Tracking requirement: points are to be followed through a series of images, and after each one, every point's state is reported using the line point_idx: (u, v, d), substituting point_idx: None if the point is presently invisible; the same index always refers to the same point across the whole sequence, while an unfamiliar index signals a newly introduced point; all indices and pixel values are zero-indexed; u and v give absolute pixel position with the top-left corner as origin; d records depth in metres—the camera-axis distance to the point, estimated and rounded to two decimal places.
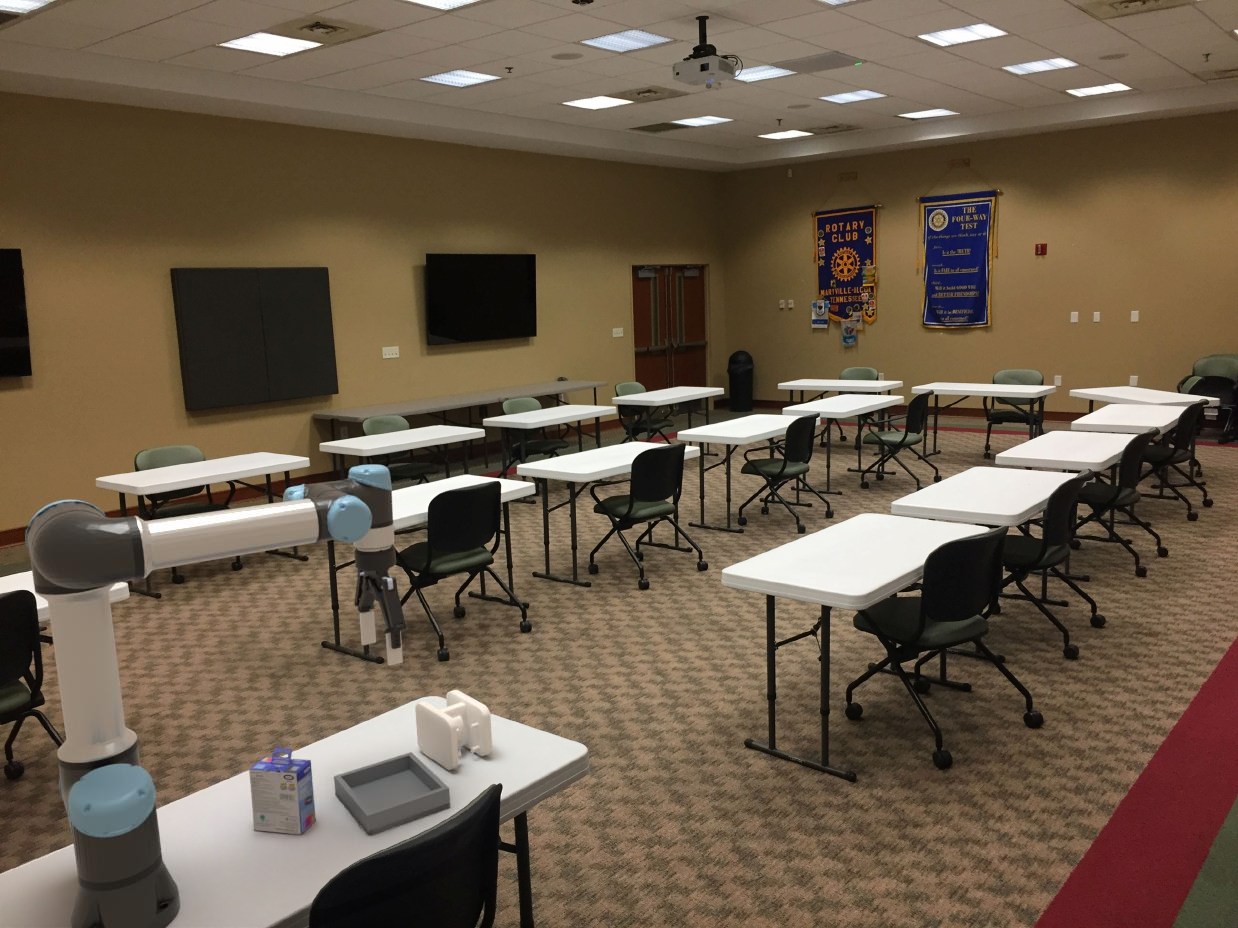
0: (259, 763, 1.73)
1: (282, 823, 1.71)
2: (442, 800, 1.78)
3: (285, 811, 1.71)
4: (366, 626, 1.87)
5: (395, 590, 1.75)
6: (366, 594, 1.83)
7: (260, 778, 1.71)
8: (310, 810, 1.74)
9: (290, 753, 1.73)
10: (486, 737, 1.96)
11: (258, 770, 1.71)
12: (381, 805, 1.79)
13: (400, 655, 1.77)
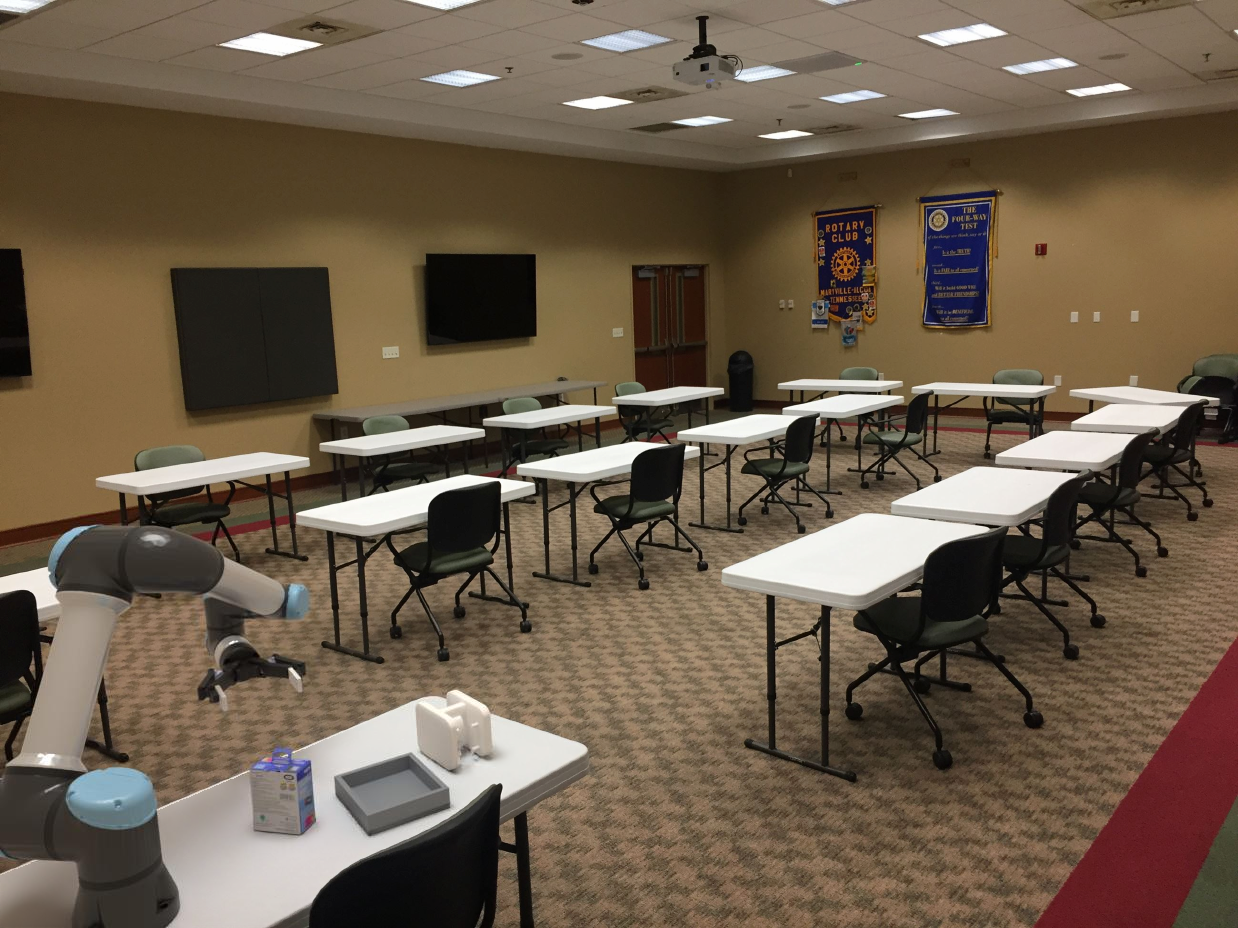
0: (259, 763, 1.73)
1: (282, 823, 1.71)
2: (442, 800, 1.78)
3: (285, 811, 1.71)
4: None
5: None
6: (229, 675, 1.85)
7: (260, 778, 1.71)
8: (310, 810, 1.74)
9: (290, 753, 1.73)
10: (487, 737, 1.96)
11: (258, 770, 1.71)
12: (381, 805, 1.79)
13: None
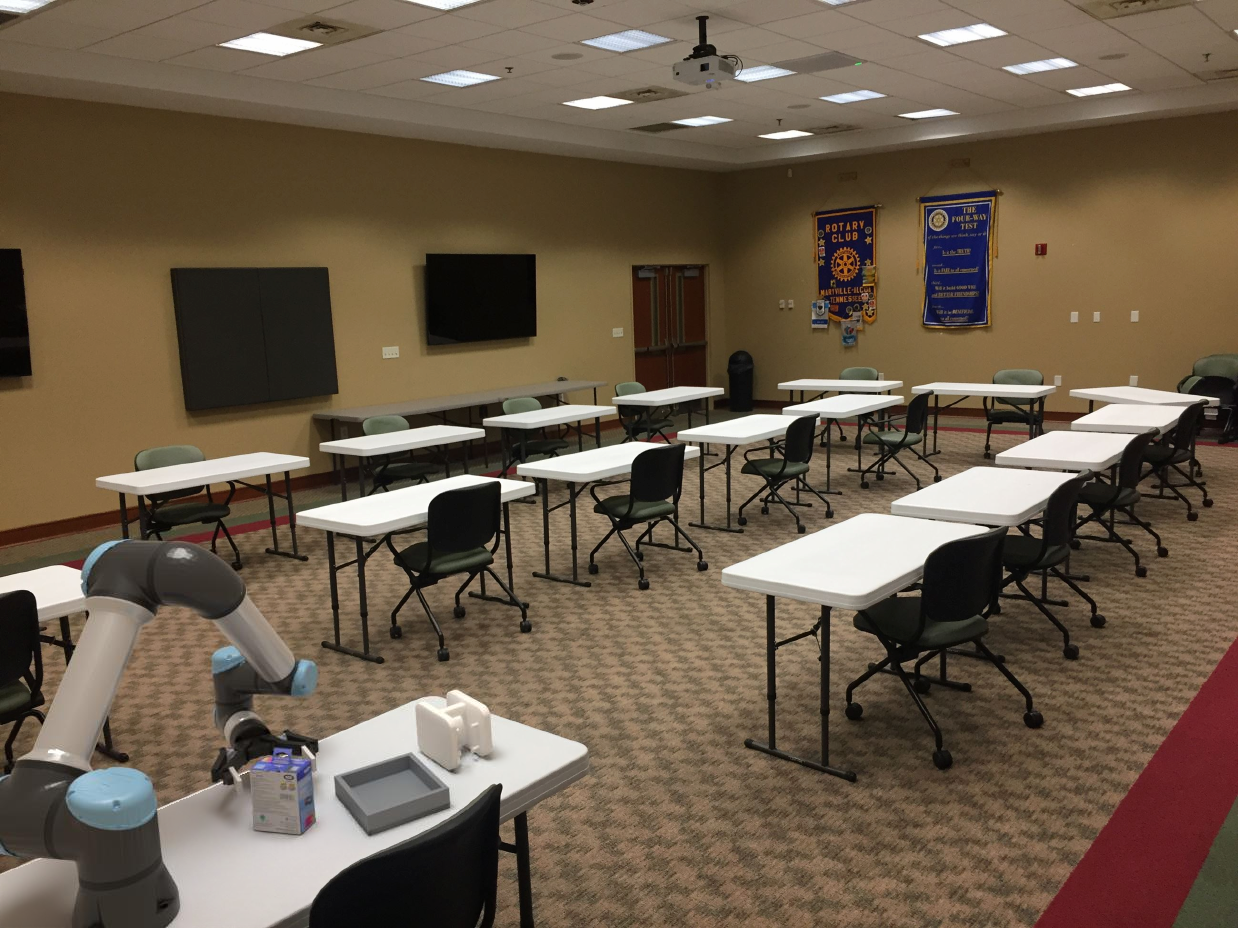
0: (259, 763, 1.73)
1: (282, 823, 1.71)
2: (442, 800, 1.78)
3: (285, 811, 1.71)
4: None
5: None
6: (242, 754, 1.84)
7: (260, 778, 1.71)
8: (310, 810, 1.74)
9: (290, 753, 1.73)
10: (486, 737, 1.96)
11: (258, 770, 1.71)
12: (381, 805, 1.79)
13: None
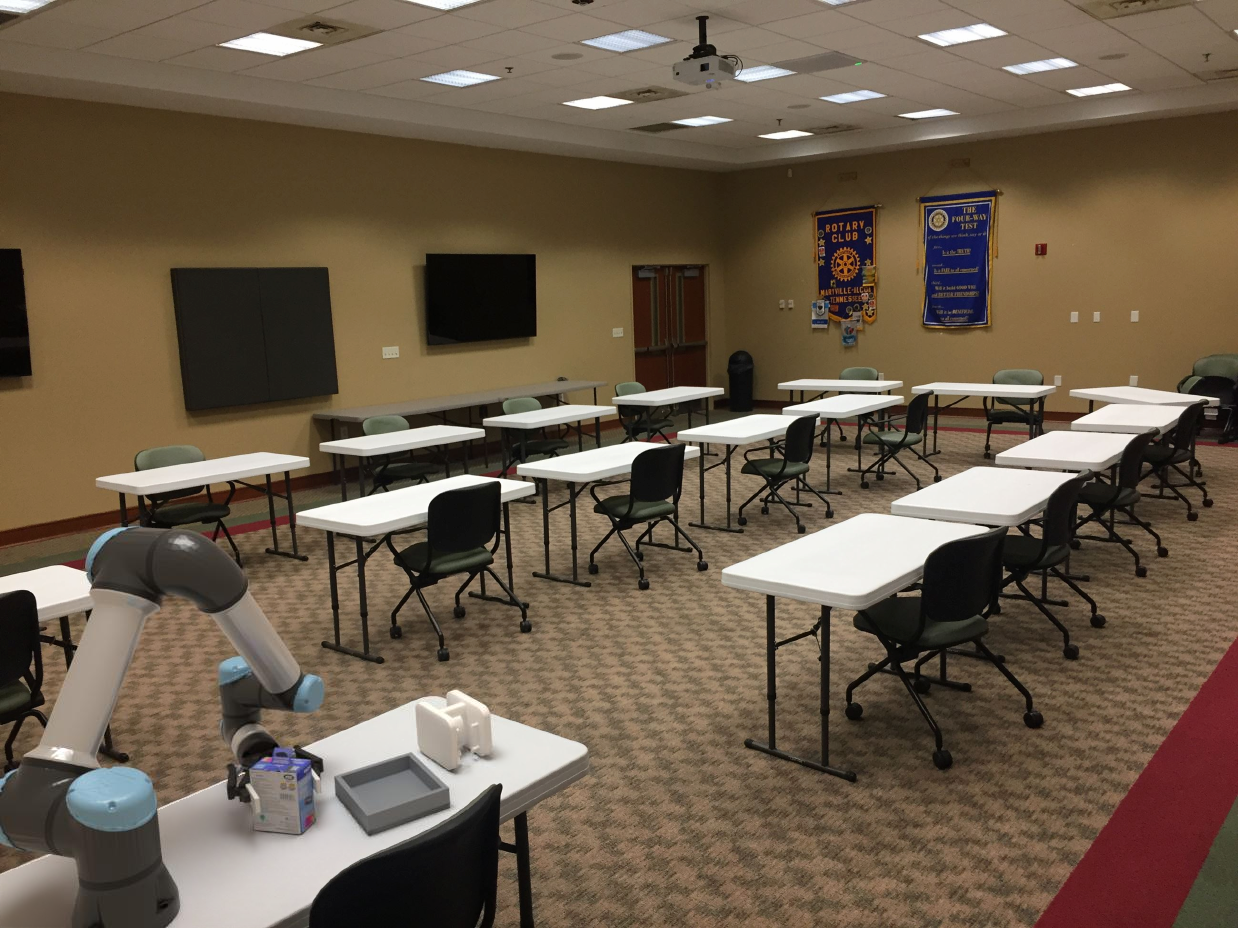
0: (259, 763, 1.73)
1: (282, 823, 1.71)
2: (442, 800, 1.78)
3: (285, 811, 1.71)
4: None
5: None
6: None
7: (260, 778, 1.71)
8: (310, 810, 1.74)
9: (290, 753, 1.73)
10: (486, 737, 1.96)
11: (258, 770, 1.71)
12: (381, 805, 1.79)
13: None
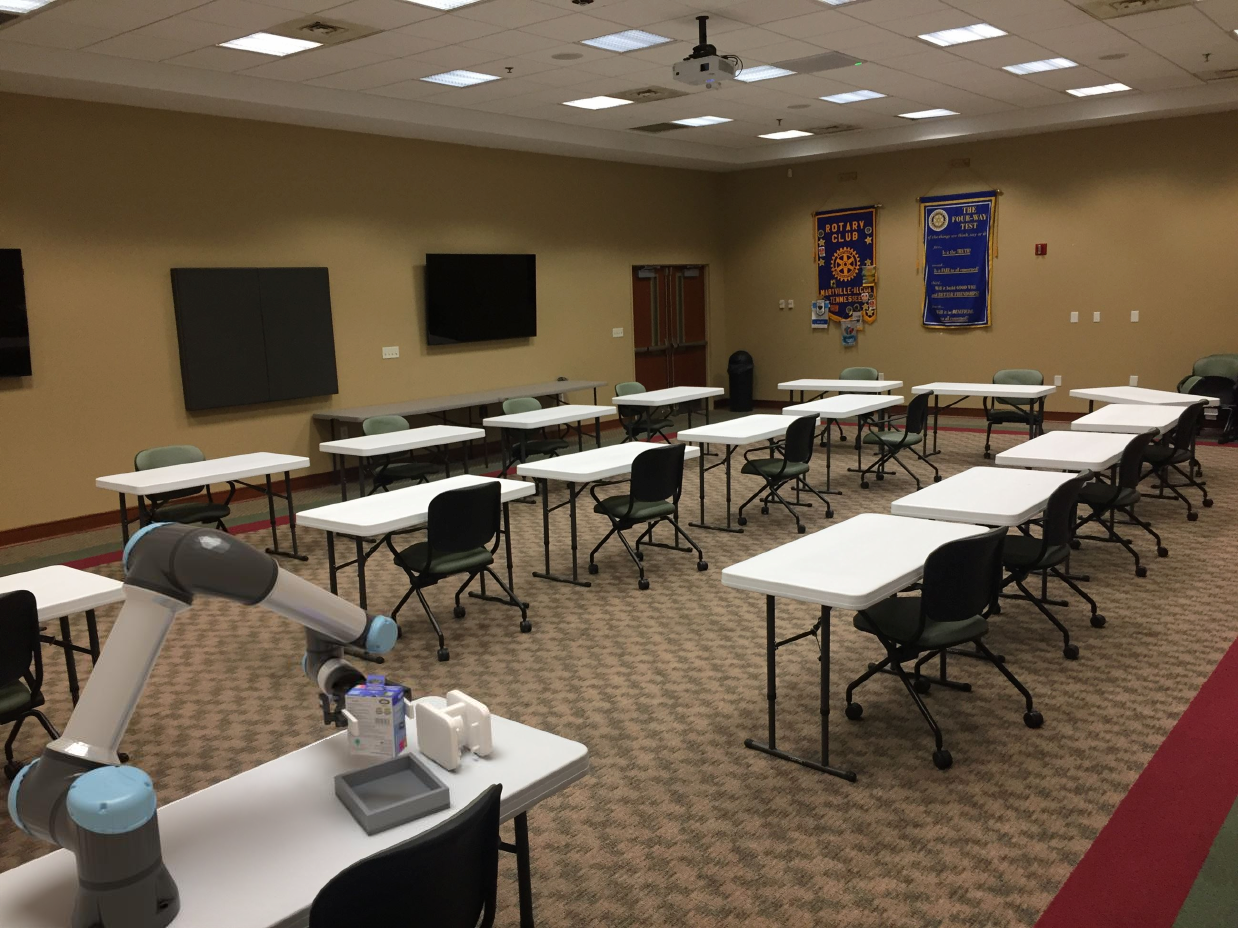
0: (353, 690, 1.78)
1: (377, 747, 1.77)
2: (442, 800, 1.78)
3: (380, 735, 1.77)
4: None
5: None
6: None
7: (355, 704, 1.76)
8: (403, 735, 1.79)
9: (383, 680, 1.78)
10: (486, 737, 1.96)
11: (354, 695, 1.76)
12: (381, 805, 1.79)
13: None
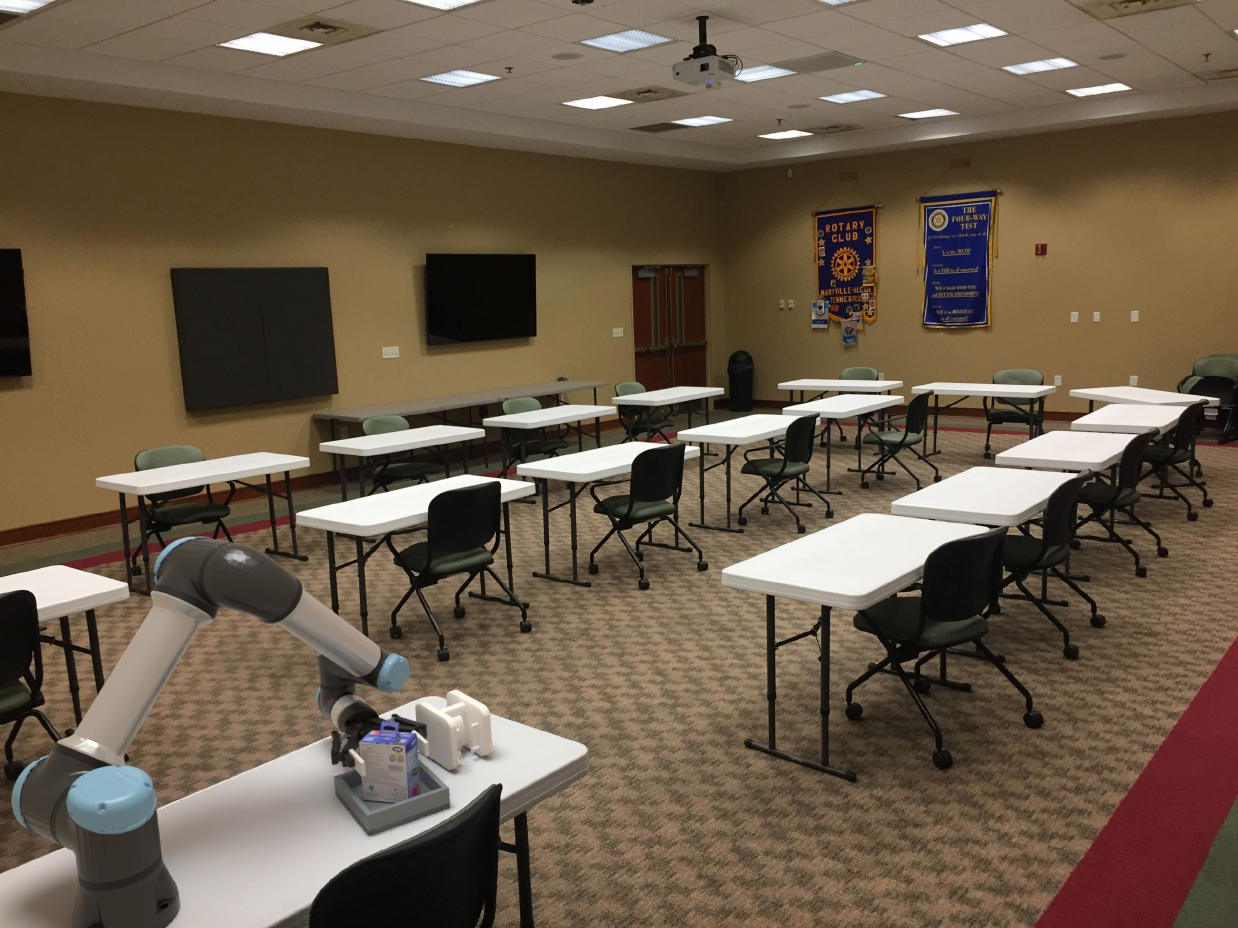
0: (367, 736, 1.80)
1: (391, 793, 1.79)
2: (442, 800, 1.78)
3: (393, 782, 1.78)
4: None
5: None
6: (356, 737, 1.84)
7: (369, 750, 1.78)
8: (416, 781, 1.81)
9: (397, 726, 1.80)
10: (486, 737, 1.96)
11: (368, 742, 1.78)
12: (381, 805, 1.79)
13: None
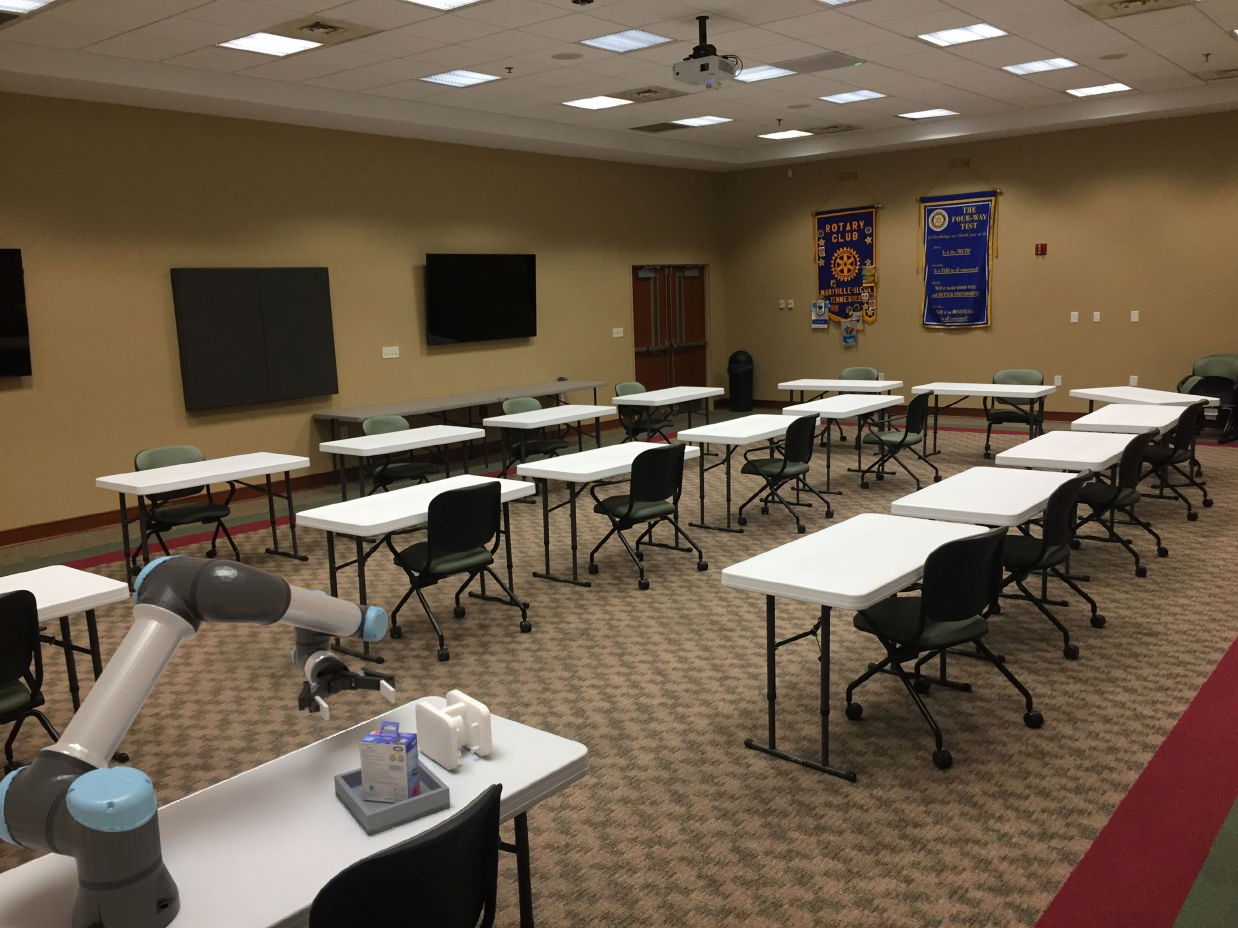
0: (368, 736, 1.80)
1: (391, 793, 1.79)
2: (442, 800, 1.78)
3: (393, 781, 1.78)
4: None
5: None
6: (325, 686, 1.96)
7: (370, 750, 1.78)
8: (416, 781, 1.81)
9: (397, 726, 1.80)
10: (486, 737, 1.96)
11: (368, 742, 1.78)
12: (381, 805, 1.79)
13: None
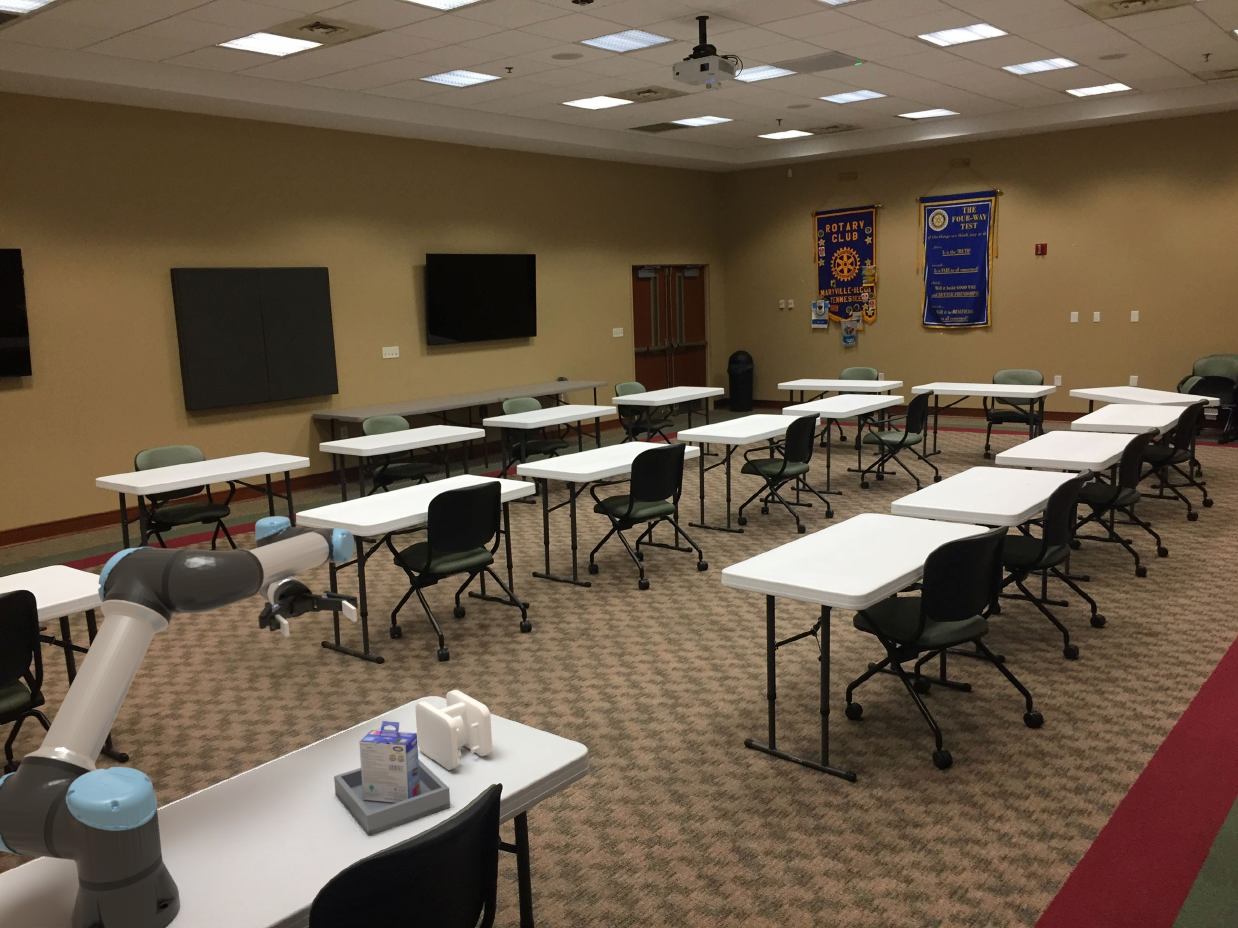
0: (368, 736, 1.80)
1: (391, 793, 1.79)
2: (442, 800, 1.78)
3: (393, 781, 1.78)
4: None
5: None
6: (286, 607, 1.95)
7: (370, 750, 1.78)
8: (416, 781, 1.81)
9: (397, 726, 1.80)
10: (486, 737, 1.96)
11: (368, 742, 1.78)
12: (381, 805, 1.79)
13: None
